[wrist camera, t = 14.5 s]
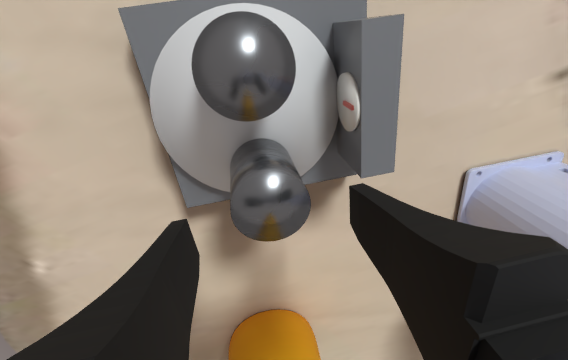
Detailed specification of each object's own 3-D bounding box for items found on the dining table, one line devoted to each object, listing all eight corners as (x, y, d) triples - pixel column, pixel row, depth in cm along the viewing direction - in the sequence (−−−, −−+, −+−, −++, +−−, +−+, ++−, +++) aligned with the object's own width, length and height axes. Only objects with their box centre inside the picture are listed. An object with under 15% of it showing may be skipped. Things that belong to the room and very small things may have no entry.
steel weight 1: (264, 5, 14) (279, -5, 10) (285, 84, 16) (306, 103, 12) (189, 30, 14) (172, 31, 10) (219, 106, 16) (216, 134, 12)
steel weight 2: (282, 129, 18) (300, 161, 13) (298, 183, 20) (318, 227, 15) (220, 149, 18) (218, 188, 13) (242, 202, 19) (246, 250, 15)
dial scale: (349, -18, 18) (407, -42, 12) (352, 159, 23) (392, 200, 18) (132, 11, 16) (81, 0, 11) (191, 190, 22) (178, 245, 16)
